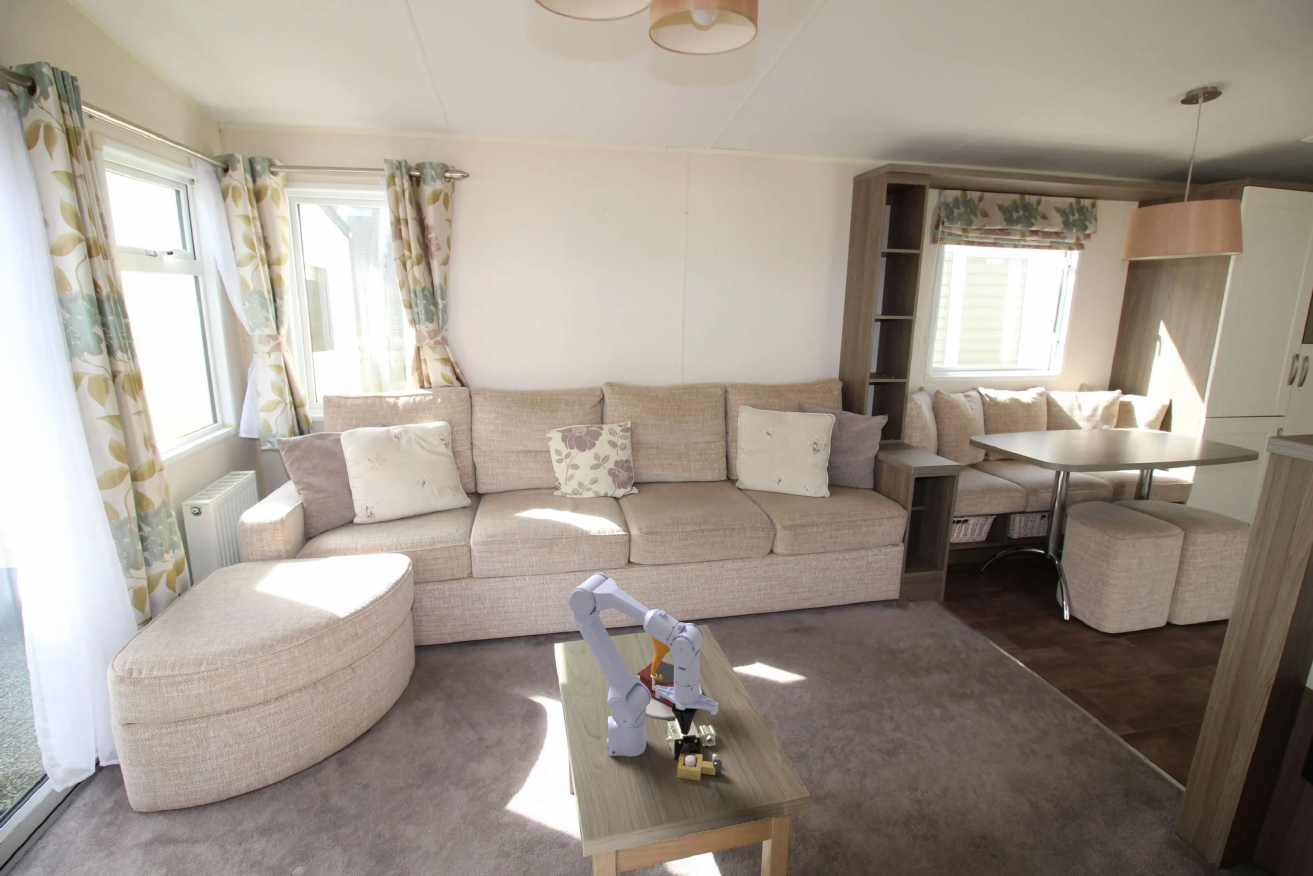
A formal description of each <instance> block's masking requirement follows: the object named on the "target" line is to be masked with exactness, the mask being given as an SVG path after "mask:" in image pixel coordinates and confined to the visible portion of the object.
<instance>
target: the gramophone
mask: <svg viewBox="0 0 1313 876" xmlns="http://www.w3.org/2000/svg"><path fill="white" fill-rule="evenodd" d="M649 636H650V639H651V641H652V643H653V647H654V653H653V654H654V655H653V658H652V662H650V663H649V664H648V665H647V666H645V667H644V668H643V669H641V670H640V671H639V672H637V673H636V676H638V677H639V679H640V681H641V682H642V683H643V684H644V685H645V686H646V687H647V688H648V689H649V691H650V693H651V701H650V703H649V704H648V705H647V706H646V717H647V716H648V717H650V718H653V719H654V718H655V719H660V720H661V719H662V720H665V719H667V720H670V719H673V718H675V717H676V716H675V715H674V713H673V712H672V707H673V705H674V703H673V702H671V701H670V700H668V699H666V698H662V697H660V698H656V697H655V690H656V689H657V687H658V686H664V687H674V664H672V663H668V662H665V661H663V658H664V657H665V656H666V655H667V654H668V653H669V652H671V651H670V647H669V646H667V645H666V644H664V643H662V642H661V641H659V640H658V639H656V638H654V637H653V636H651V635H650V634H649ZM700 685H701V684H699V693H700V694H702V695H703V691H702V689H701V686H700Z"/></svg>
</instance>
